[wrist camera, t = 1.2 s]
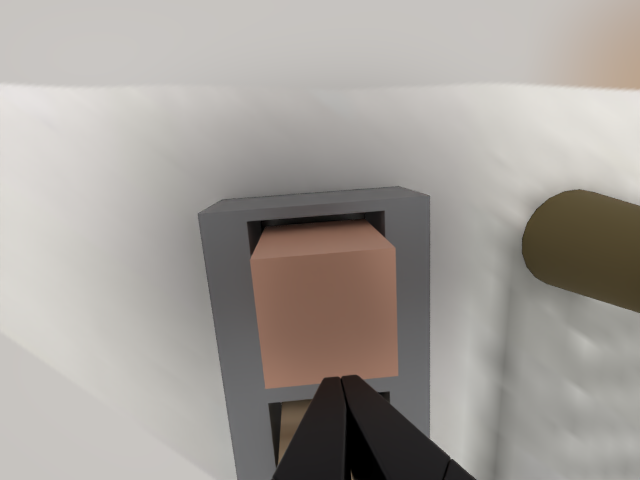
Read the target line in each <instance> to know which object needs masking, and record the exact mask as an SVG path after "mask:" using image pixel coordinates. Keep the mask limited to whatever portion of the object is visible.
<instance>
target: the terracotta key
mask: <svg viewBox="0 0 640 480" xmlns="http://www.w3.org/2000/svg"><path fill="white" fill-rule="evenodd" d="M250 265H251V274H252V282H253V290H254V299H255V307H256V315H257V324H258V332H259V340H260V349H261V357H262V365H263V374H264V382H265V389H270V388H281V387H291V386H301V385H311V384H320V383H321V381H322V380H323V378H325V377H336V376H338V377H340V379H341V377H342V376H346V375H358V376H360V377H361V378H362V379H372V378H383V377H393V376H398V338H397V293H396V248H395V247H394V246H393V245H392V244H391V243H390V242H389V241H388V240H387V239H386V238H385V237H384V236H382V235H381V234H380V233H379V232H378V231H377V230H376V229H375V228H374V227H373V226H372V225H371V224H370V223H369V222H368V221H367V220H365V219H355V220H342V221H329V222H317V223H304V224H292V225H279V226H267V227H265V229H264V231H263V233H262V235H261V237H260V239H259V241H258V244H257V246H256V248H255V250H254V252H253V254H252V256H251V259H250Z"/></svg>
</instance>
